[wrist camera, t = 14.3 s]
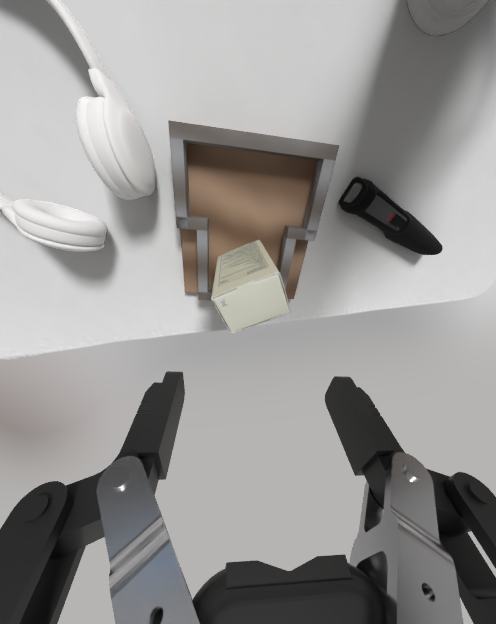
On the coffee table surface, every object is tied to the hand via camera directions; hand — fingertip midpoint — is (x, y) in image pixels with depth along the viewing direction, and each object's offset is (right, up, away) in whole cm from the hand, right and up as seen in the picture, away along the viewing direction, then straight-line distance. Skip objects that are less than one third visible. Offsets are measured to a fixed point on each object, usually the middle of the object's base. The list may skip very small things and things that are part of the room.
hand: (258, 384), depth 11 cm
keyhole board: (-1, +15, +16) cm, 22 cm away
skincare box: (-1, +11, +17) cm, 20 cm away
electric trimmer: (+18, +16, +17) cm, 30 cm away
